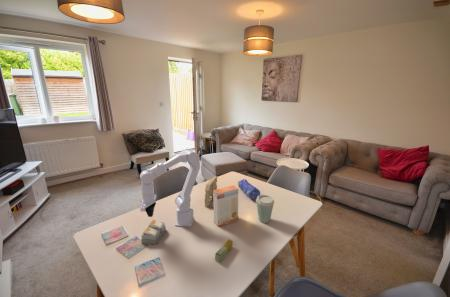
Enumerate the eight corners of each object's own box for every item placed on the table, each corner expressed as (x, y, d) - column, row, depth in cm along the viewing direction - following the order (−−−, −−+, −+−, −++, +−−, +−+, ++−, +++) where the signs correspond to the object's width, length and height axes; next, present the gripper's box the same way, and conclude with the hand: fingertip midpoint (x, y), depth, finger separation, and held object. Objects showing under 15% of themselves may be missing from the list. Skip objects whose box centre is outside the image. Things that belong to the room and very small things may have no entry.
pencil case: (237, 189, 163) (237, 178, 161) (246, 187, 166) (247, 176, 164) (250, 202, 143) (250, 189, 141) (260, 200, 146) (261, 188, 144)
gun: (208, 208, 135) (209, 186, 132) (204, 207, 136) (204, 186, 133) (217, 194, 158) (217, 176, 156) (213, 194, 159) (213, 175, 157)
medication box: (219, 263, 91) (219, 256, 90) (214, 260, 92) (214, 253, 91) (232, 247, 101) (233, 240, 100) (228, 244, 102) (228, 238, 101)
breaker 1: (161, 226, 111) (162, 223, 111) (159, 230, 108) (160, 227, 108) (151, 221, 111) (153, 218, 111) (149, 225, 108) (150, 222, 108)
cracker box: (233, 215, 127) (233, 184, 122) (238, 220, 122) (239, 188, 117) (213, 221, 121) (212, 189, 115) (217, 227, 115) (217, 194, 110)
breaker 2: (156, 233, 106) (158, 230, 105) (154, 237, 102) (155, 234, 102) (146, 228, 105) (147, 225, 105) (143, 232, 102) (144, 229, 102)
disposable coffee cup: (276, 220, 122) (278, 197, 119) (266, 228, 115) (268, 204, 111) (261, 213, 129) (262, 192, 126) (251, 220, 122) (252, 198, 118)
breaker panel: (165, 229, 113) (165, 222, 112) (156, 244, 102) (155, 236, 100) (152, 228, 114) (151, 221, 113) (141, 243, 102) (140, 235, 101)
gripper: (147, 186, 113) (149, 208, 116) (133, 199, 99) (136, 223, 102) (159, 187, 112) (161, 209, 115) (147, 200, 98) (149, 224, 101)
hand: (150, 216), depth 109 cm, fingers closed
